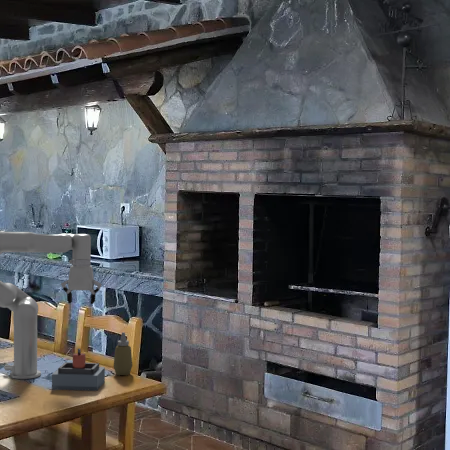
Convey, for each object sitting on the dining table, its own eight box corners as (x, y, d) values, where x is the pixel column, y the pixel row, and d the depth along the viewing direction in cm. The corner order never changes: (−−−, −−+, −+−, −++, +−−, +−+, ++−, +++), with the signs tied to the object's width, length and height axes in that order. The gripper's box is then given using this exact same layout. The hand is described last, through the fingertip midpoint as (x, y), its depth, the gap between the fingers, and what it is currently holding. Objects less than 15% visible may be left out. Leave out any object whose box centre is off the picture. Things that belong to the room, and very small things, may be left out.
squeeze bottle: (128, 377, 297) (129, 335, 296) (110, 376, 299) (110, 333, 298) (135, 372, 305) (135, 331, 304) (117, 371, 307) (117, 330, 306)
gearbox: (51, 389, 278) (51, 369, 278) (61, 380, 291) (61, 361, 291) (97, 390, 277) (97, 370, 277) (104, 381, 290) (104, 362, 290)
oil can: (70, 383, 282) (71, 350, 281) (74, 379, 287) (75, 347, 286) (83, 383, 281) (83, 350, 280) (86, 380, 286) (87, 347, 285)
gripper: (58, 263, 296) (58, 304, 297) (99, 264, 295) (99, 305, 296) (64, 261, 304) (63, 301, 305) (103, 262, 303) (103, 302, 304)
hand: (81, 303), depth 301 cm, fingers open, 9 cm apart
